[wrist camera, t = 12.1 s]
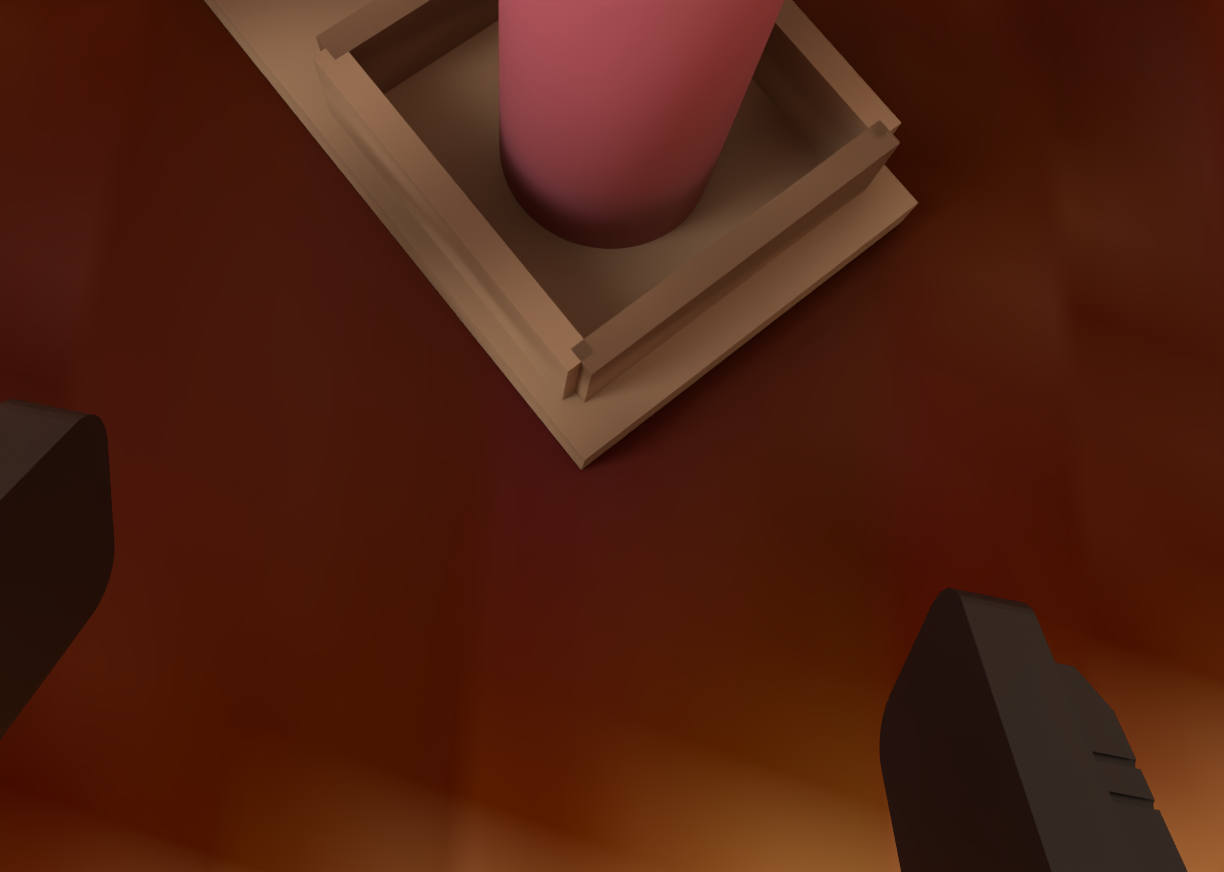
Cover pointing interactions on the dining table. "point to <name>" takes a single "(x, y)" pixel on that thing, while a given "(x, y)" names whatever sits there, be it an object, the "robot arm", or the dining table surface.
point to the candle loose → (621, 108)
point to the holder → (559, 269)
